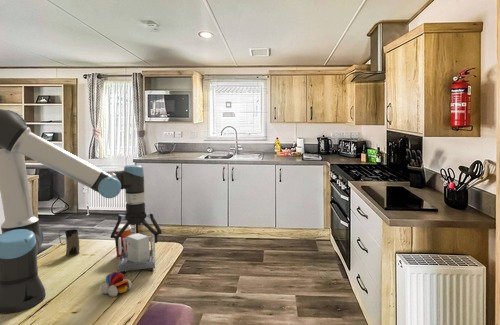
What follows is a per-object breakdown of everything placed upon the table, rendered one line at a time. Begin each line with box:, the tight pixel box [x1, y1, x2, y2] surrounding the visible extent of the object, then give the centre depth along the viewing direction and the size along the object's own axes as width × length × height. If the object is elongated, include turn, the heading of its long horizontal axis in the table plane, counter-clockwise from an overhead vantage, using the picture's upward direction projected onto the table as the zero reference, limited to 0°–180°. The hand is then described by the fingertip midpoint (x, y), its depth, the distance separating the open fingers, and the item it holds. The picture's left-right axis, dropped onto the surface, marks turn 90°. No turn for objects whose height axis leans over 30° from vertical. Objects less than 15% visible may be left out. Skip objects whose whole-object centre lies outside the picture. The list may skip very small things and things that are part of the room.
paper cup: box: [112, 223, 132, 259], centre depth 154 cm, size 8×8×14 cm
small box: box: [127, 233, 151, 263], centre depth 143 cm, size 8×6×10 cm
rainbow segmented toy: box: [100, 270, 133, 298], centre depth 122 cm, size 8×10×7 cm
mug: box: [58, 228, 80, 257], centre depth 156 cm, size 8×6×12 cm
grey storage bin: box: [117, 235, 156, 275], centre depth 143 cm, size 14×14×10 cm
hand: (137, 252), depth 143 cm, fingers open, 13 cm apart
